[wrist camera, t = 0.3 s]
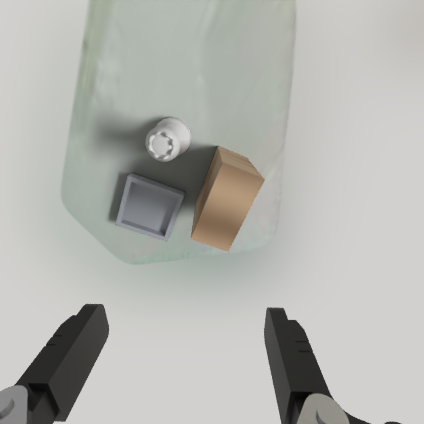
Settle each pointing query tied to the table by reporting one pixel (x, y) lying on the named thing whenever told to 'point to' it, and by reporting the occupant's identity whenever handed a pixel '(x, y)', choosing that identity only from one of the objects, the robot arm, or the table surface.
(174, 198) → the tray
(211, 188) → the block
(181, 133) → the rook chess piece
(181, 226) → the table surface
